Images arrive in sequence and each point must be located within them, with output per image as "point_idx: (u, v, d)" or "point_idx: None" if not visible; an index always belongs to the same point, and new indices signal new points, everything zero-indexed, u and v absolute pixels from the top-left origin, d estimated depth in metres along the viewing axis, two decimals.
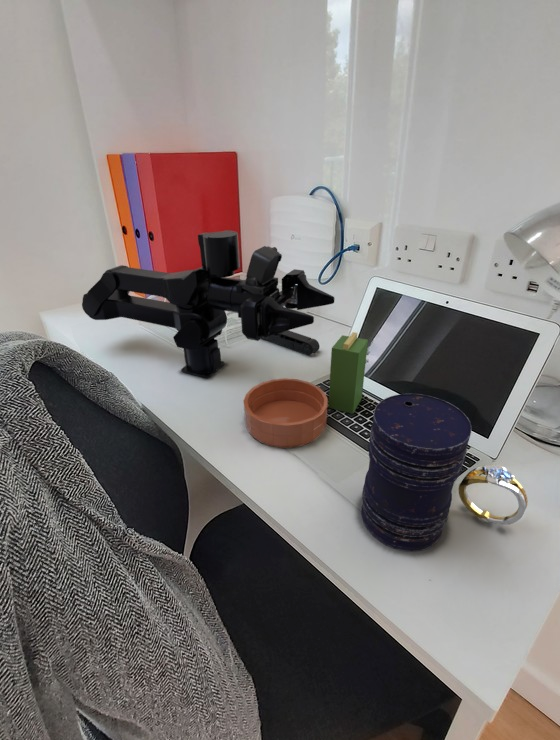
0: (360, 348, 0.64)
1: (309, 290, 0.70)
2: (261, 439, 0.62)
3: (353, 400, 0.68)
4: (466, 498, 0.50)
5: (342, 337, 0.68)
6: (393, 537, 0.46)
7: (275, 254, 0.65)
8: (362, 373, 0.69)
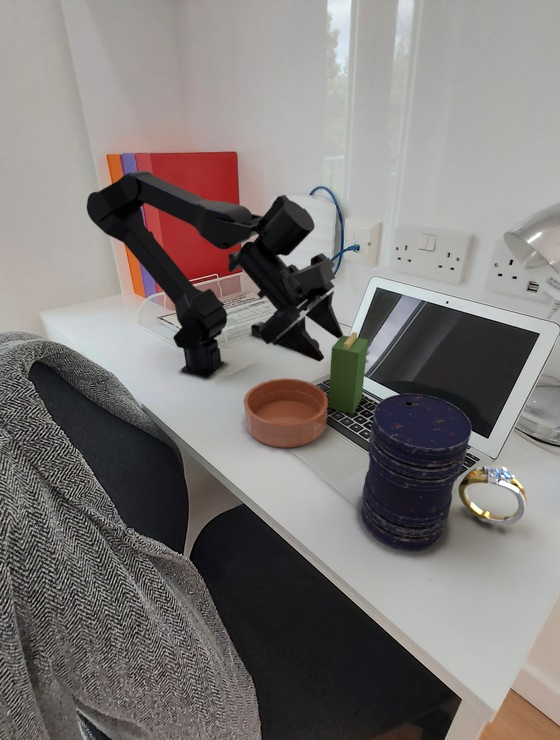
0: (360, 348, 0.64)
1: (328, 312, 0.70)
2: (261, 439, 0.62)
3: (353, 400, 0.68)
4: (466, 498, 0.50)
5: (342, 337, 0.68)
6: (393, 537, 0.46)
7: (332, 277, 0.62)
8: (362, 373, 0.69)
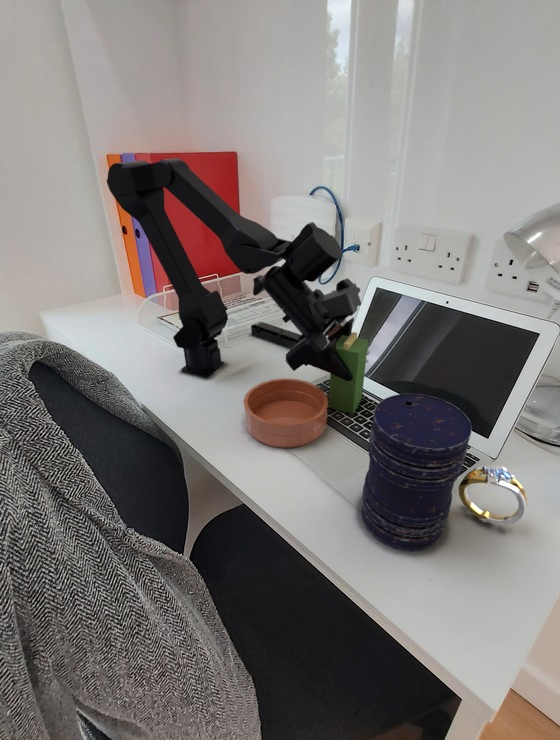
0: (360, 348, 0.64)
1: None
2: (261, 439, 0.62)
3: (353, 400, 0.68)
4: (466, 498, 0.50)
5: (342, 337, 0.68)
6: (393, 537, 0.46)
7: (358, 303, 0.62)
8: (362, 373, 0.69)
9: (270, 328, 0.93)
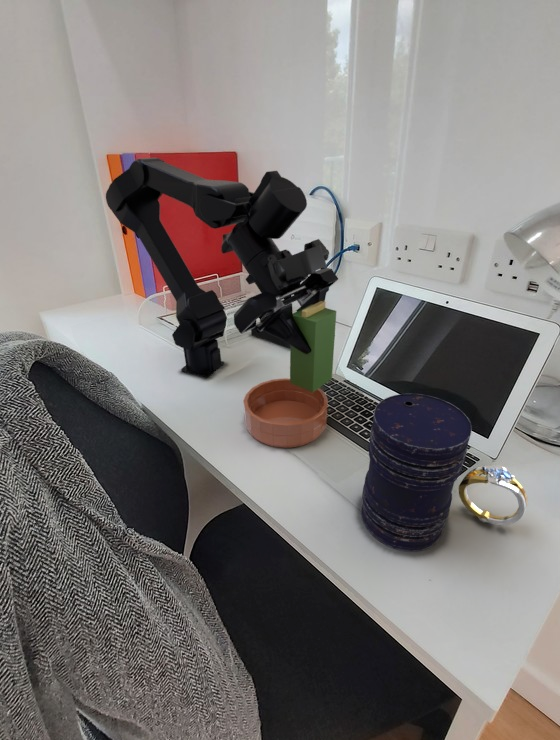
0: (321, 318, 0.57)
1: None
2: (261, 439, 0.62)
3: (312, 377, 0.61)
4: (466, 498, 0.50)
5: (310, 306, 0.61)
6: (393, 537, 0.46)
7: (321, 266, 0.55)
8: (328, 348, 0.61)
9: None
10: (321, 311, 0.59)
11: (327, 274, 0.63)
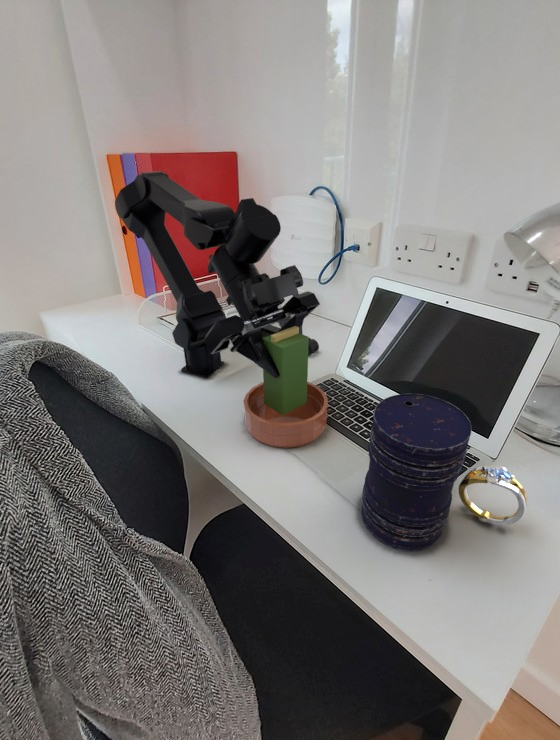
0: (289, 343, 0.58)
1: None
2: (261, 439, 0.62)
3: (282, 400, 0.61)
4: (466, 498, 0.50)
5: (285, 330, 0.62)
6: (393, 537, 0.46)
7: (290, 293, 0.56)
8: (300, 373, 0.62)
9: (270, 328, 0.93)
10: (293, 336, 0.60)
11: (307, 298, 0.63)
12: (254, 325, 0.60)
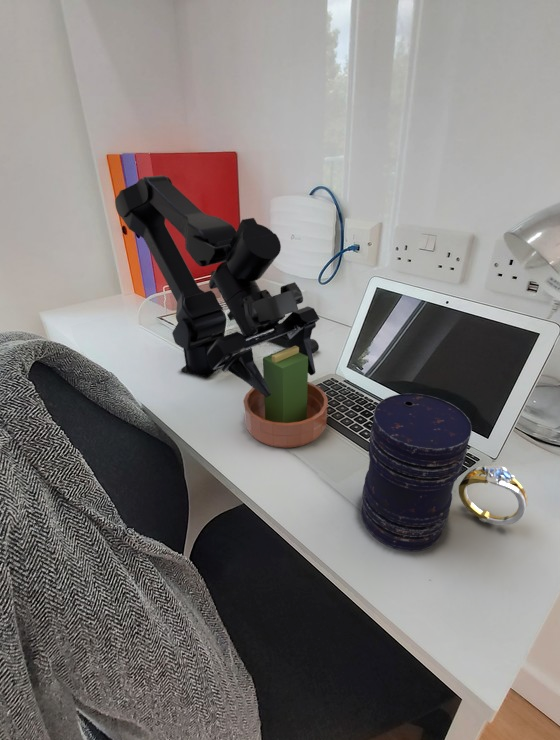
0: (289, 364, 0.59)
1: (303, 346, 0.65)
2: (261, 439, 0.62)
3: (282, 418, 0.63)
4: (466, 498, 0.50)
5: (285, 349, 0.63)
6: (393, 537, 0.46)
7: (290, 310, 0.57)
8: (300, 391, 0.63)
9: None
10: (293, 356, 0.61)
11: (307, 314, 0.64)
12: (264, 337, 0.62)
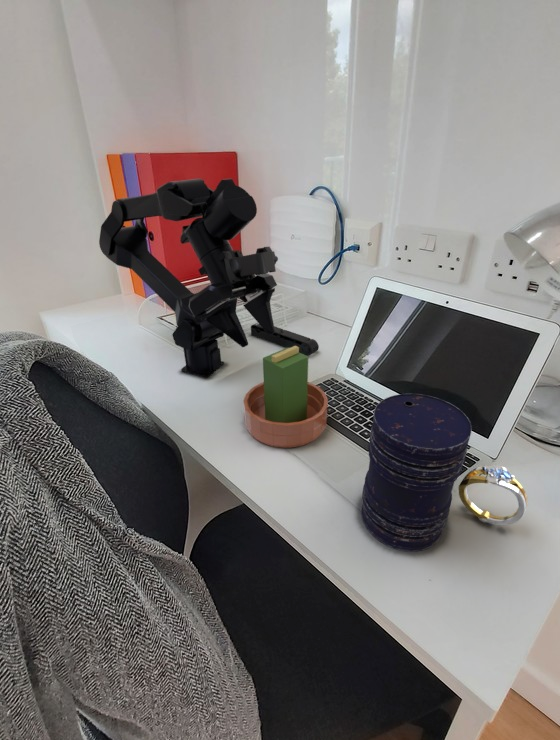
0: (289, 364, 0.59)
1: (265, 307, 0.72)
2: (261, 439, 0.62)
3: (282, 418, 0.63)
4: (466, 498, 0.50)
5: (285, 349, 0.63)
6: (393, 537, 0.46)
7: (272, 268, 0.64)
8: (300, 391, 0.63)
9: None
10: (293, 356, 0.61)
11: (269, 279, 0.72)
12: (237, 293, 0.67)
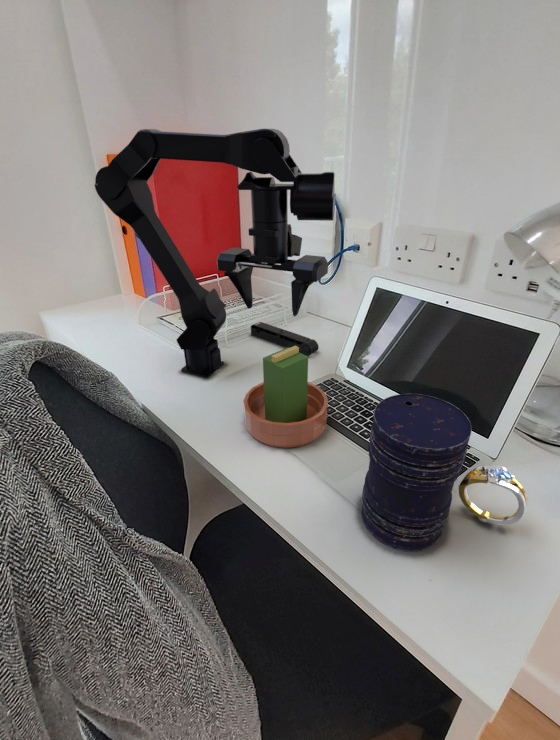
0: (289, 364, 0.59)
1: (249, 281, 0.75)
2: (261, 439, 0.62)
3: (282, 418, 0.63)
4: (466, 498, 0.50)
5: (285, 349, 0.63)
6: (393, 537, 0.46)
7: None
8: (300, 391, 0.63)
9: (269, 328, 0.92)
10: (293, 356, 0.61)
11: None
12: None
